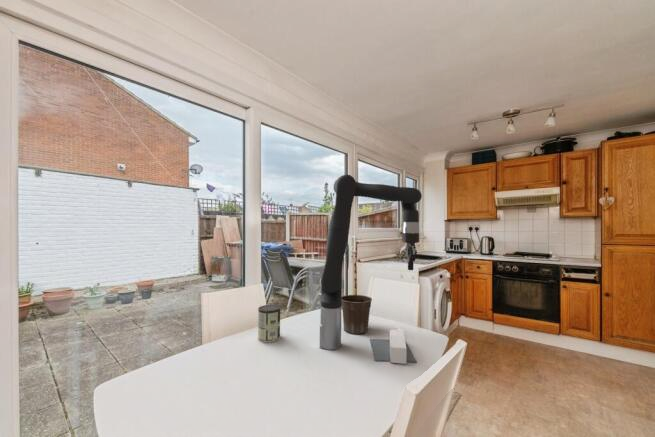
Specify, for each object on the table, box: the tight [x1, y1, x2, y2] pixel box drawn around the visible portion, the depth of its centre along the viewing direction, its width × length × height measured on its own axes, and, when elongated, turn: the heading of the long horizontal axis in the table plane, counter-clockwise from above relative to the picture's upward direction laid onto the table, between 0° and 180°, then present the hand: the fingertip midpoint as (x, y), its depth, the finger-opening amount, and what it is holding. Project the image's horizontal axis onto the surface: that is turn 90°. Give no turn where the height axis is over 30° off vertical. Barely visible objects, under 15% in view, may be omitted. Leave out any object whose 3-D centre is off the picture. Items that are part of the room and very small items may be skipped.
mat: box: [369, 338, 418, 364], centre depth 120 cm, size 16×21×1 cm
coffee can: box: [257, 304, 281, 343], centre depth 132 cm, size 10×10×14 cm
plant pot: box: [341, 294, 373, 335], centre depth 144 cm, size 16×16×16 cm
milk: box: [389, 328, 407, 365], centre depth 119 cm, size 6×6×22 cm
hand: (410, 269), depth 129 cm, fingers closed
